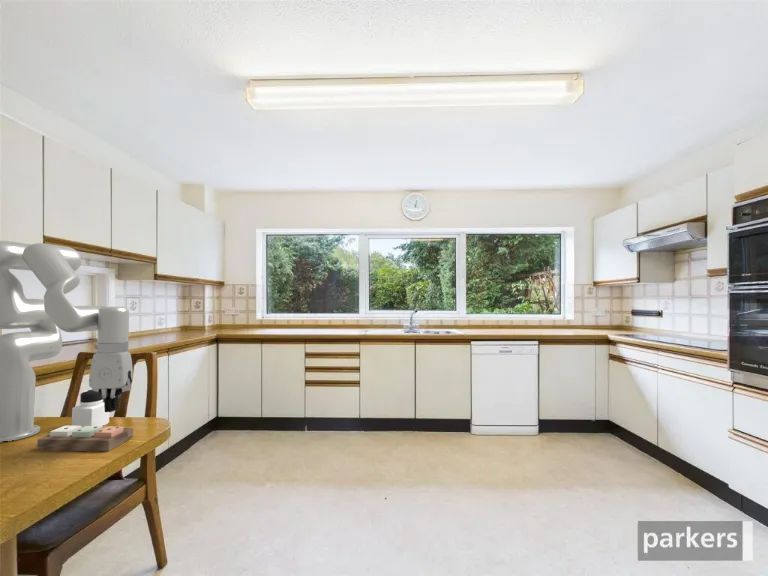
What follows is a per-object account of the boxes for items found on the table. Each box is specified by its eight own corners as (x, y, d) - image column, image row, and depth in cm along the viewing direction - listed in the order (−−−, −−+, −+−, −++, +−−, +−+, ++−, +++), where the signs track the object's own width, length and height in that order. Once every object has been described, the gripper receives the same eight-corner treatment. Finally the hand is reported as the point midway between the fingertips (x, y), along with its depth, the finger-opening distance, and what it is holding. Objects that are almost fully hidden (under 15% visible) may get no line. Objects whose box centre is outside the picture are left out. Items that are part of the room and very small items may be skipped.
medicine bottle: (109, 423, 125) (111, 388, 126) (90, 431, 118) (92, 393, 118) (90, 422, 126) (91, 387, 126) (70, 429, 119) (72, 392, 119)
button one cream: (49, 439, 106) (50, 431, 106) (64, 433, 111) (65, 425, 111) (67, 440, 106) (67, 431, 106) (81, 433, 111) (81, 425, 111)
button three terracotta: (93, 440, 106) (94, 431, 106) (106, 434, 111) (107, 425, 111) (111, 441, 106) (111, 432, 106) (123, 434, 111) (123, 426, 111)
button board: (37, 450, 103) (37, 439, 103) (67, 436, 113) (67, 426, 113) (108, 451, 103) (109, 440, 103) (132, 437, 113) (133, 428, 113)
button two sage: (71, 440, 106) (72, 431, 106) (85, 433, 111) (86, 425, 111) (89, 440, 106) (89, 431, 106) (102, 434, 111) (102, 425, 111)
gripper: (77, 350, 105) (75, 414, 105) (129, 350, 105) (127, 414, 105) (97, 346, 113) (95, 407, 112) (146, 346, 113) (144, 407, 112)
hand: (111, 410), depth 108 cm, fingers closed
